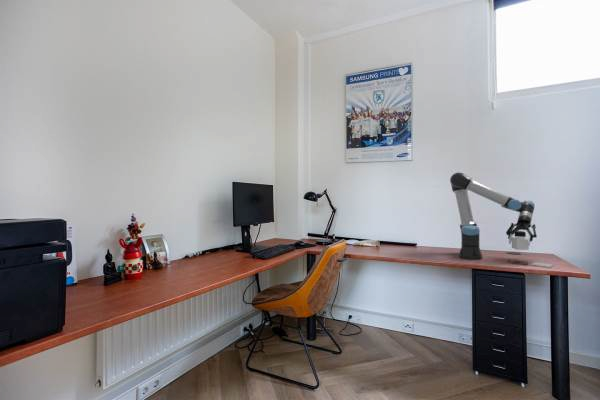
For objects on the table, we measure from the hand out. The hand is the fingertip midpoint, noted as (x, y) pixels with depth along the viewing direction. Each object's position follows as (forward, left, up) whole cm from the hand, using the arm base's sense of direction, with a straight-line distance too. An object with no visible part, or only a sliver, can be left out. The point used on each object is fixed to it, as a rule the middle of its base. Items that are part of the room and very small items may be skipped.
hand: (518, 243), depth 201 cm
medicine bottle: (0, +3, -4) cm, 5 cm away
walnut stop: (0, -3, -13) cm, 14 cm away
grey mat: (+12, +3, -13) cm, 18 cm away
